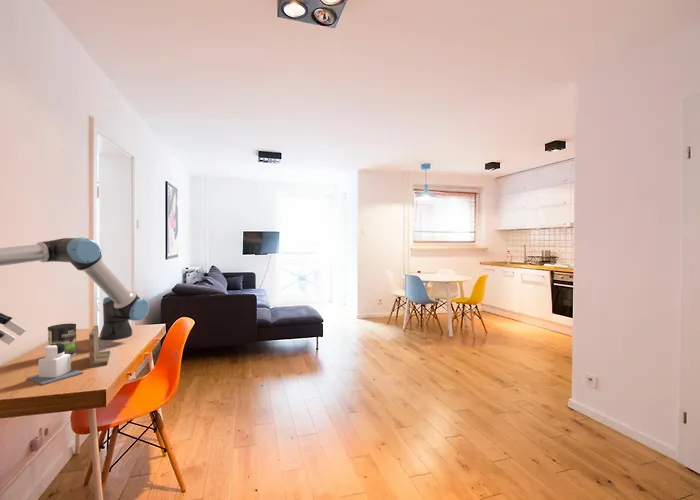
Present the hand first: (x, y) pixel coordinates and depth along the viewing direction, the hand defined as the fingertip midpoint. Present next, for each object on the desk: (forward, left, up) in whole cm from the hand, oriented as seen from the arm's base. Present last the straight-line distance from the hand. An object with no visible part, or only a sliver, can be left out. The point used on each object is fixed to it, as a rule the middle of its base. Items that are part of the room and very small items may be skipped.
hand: (18, 337), depth 131 cm
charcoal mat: (-9, +6, -17) cm, 20 cm away
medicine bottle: (-9, +5, -17) cm, 20 cm away
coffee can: (-22, -21, -17) cm, 35 cm away
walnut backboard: (-28, +1, -17) cm, 32 cm away
